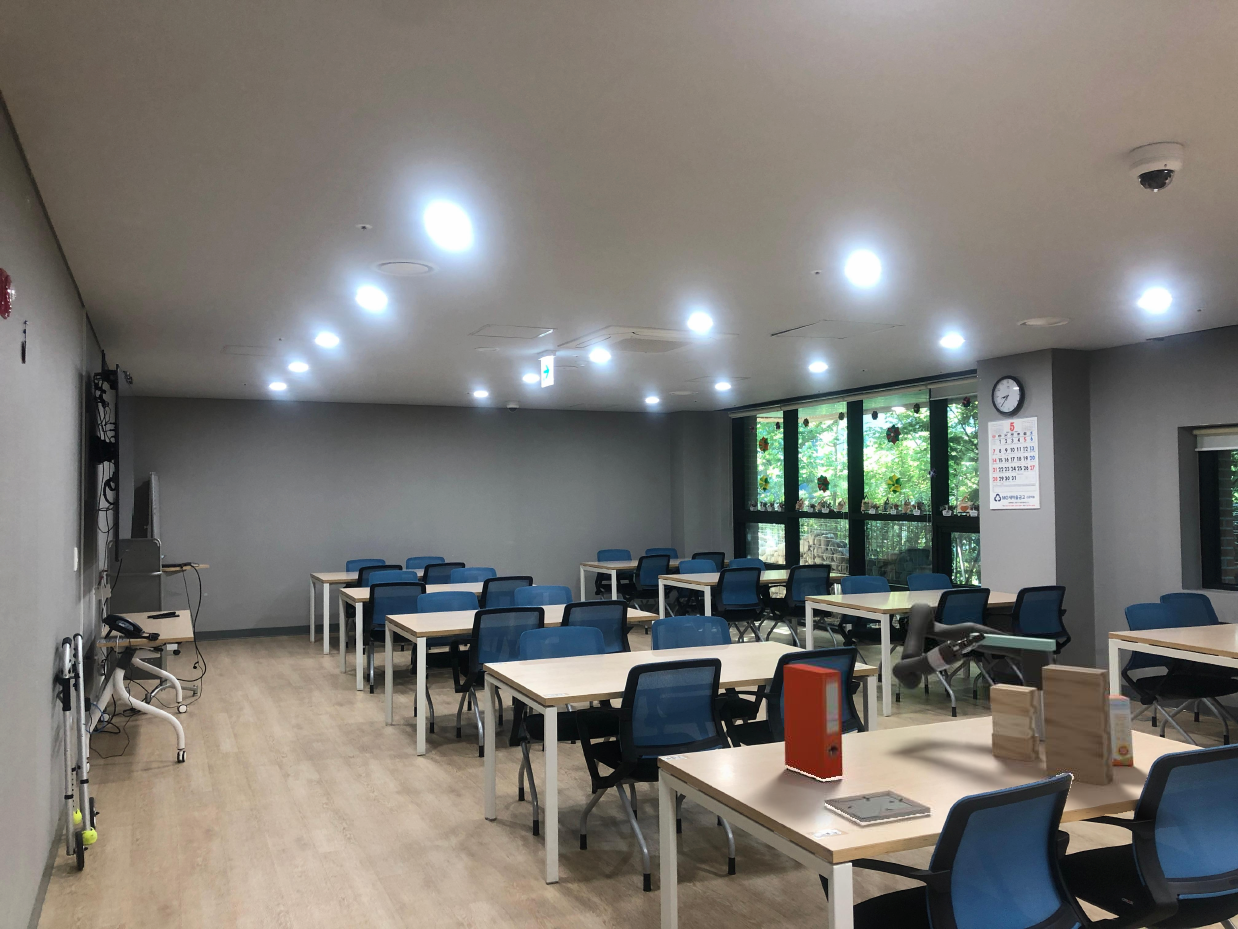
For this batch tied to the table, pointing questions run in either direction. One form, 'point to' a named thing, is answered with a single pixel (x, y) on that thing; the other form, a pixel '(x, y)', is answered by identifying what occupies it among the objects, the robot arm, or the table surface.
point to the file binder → (813, 720)
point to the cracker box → (1121, 730)
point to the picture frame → (877, 806)
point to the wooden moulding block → (1077, 723)
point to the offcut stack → (1014, 722)
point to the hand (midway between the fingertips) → (986, 634)
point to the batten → (1017, 642)
